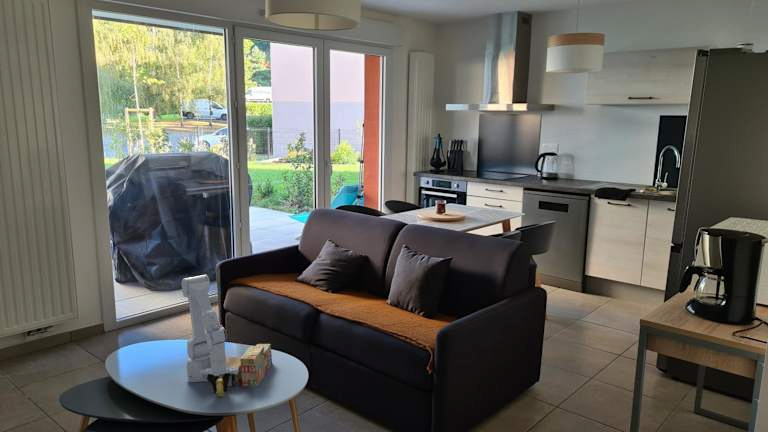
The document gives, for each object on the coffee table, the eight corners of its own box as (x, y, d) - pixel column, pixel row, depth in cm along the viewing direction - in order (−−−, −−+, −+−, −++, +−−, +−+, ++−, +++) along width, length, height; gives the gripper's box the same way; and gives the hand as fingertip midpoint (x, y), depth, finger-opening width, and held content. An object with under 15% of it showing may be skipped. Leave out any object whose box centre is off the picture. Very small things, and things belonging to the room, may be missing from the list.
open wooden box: (211, 387, 215) (210, 371, 214) (220, 373, 228) (218, 357, 227) (238, 386, 215) (237, 370, 214) (246, 372, 228) (244, 356, 227)
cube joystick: (213, 397, 208) (212, 382, 207) (222, 380, 221) (221, 367, 220) (226, 396, 208) (225, 382, 207) (234, 380, 221) (233, 366, 220)
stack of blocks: (258, 363, 237) (256, 337, 235) (272, 363, 236) (270, 337, 234) (242, 386, 216) (239, 358, 214) (257, 386, 215) (255, 358, 213)
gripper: (195, 364, 202) (198, 397, 205) (234, 362, 203) (237, 395, 205) (201, 356, 209) (204, 388, 212) (238, 354, 210) (241, 387, 212)
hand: (220, 391), depth 209 cm, fingers closed on cube joystick, 3 cm apart
